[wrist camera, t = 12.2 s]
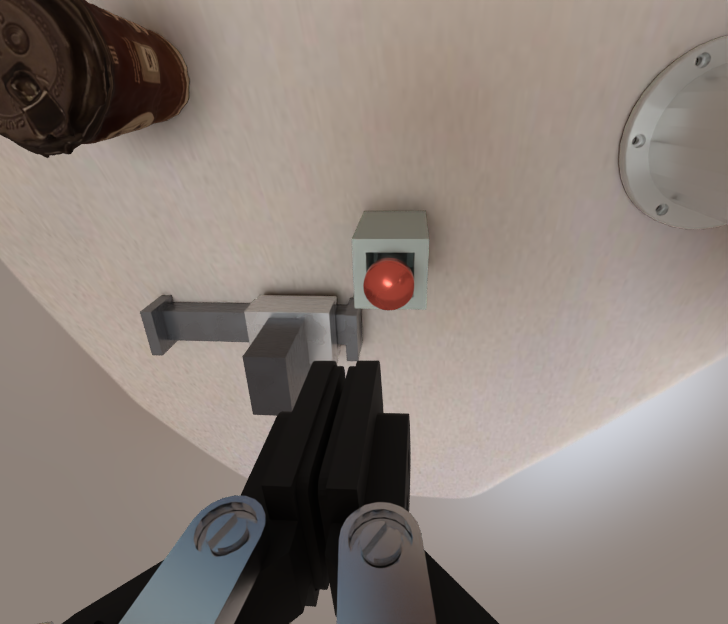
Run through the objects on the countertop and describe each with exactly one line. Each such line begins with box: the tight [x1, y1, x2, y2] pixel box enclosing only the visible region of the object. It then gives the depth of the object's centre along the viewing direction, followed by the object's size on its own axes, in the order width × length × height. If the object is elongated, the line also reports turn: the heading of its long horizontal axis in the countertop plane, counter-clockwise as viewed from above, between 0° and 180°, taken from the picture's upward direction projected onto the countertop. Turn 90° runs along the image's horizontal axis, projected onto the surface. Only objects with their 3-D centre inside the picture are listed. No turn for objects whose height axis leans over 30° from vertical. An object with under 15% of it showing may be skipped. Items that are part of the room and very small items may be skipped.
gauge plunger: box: [363, 252, 414, 310], centre depth 30 cm, size 3×3×7 cm
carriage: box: [243, 295, 340, 416], centre depth 35 cm, size 7×6×10 cm
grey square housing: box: [352, 211, 429, 310], centre depth 32 cm, size 5×5×8 cm
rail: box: [140, 295, 363, 361], centre depth 39 cm, size 19×4×4 cm, turn 92°
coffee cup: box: [0, 0, 189, 158], centre depth 26 cm, size 9×8×13 cm
